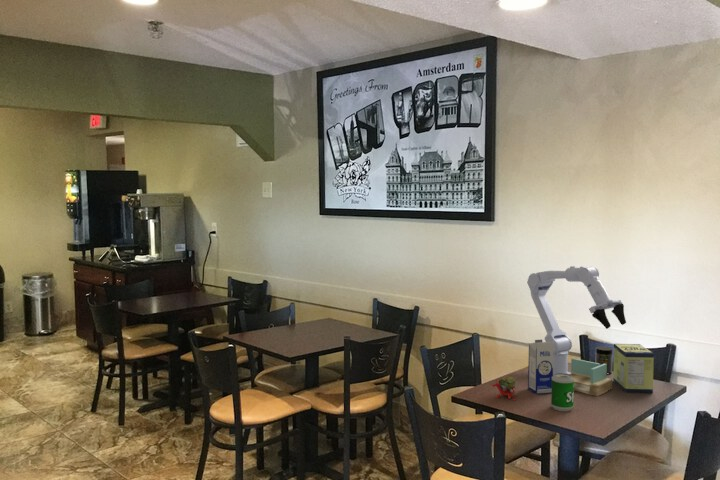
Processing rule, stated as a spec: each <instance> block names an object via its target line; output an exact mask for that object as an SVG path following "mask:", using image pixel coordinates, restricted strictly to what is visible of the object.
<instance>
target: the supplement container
mask: <svg viewBox="0 0 720 480" xmlns="http://www.w3.org/2000/svg"><path fill="white" fill-rule="evenodd" d="M613 354H614V348H612V347H609V346H596V347H595V362H594V363H599V364H600V365H602V364H607V373H611V372H613ZM611 374H612V373H611Z"/></svg>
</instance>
